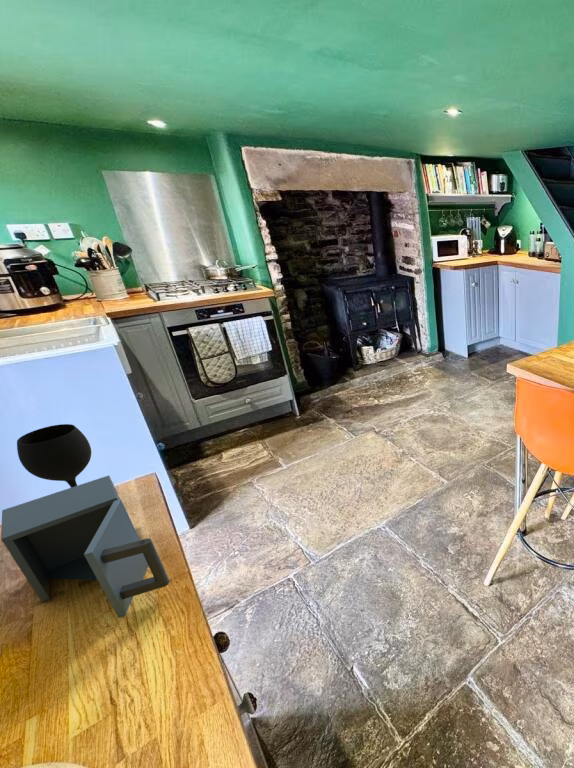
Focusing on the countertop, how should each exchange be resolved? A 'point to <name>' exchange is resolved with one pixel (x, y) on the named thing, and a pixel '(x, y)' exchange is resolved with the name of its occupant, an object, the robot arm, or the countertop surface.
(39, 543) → the cupboard
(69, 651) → the countertop surface
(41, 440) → the wine glass
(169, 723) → the countertop surface
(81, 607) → the countertop surface
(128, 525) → the cupboard door
